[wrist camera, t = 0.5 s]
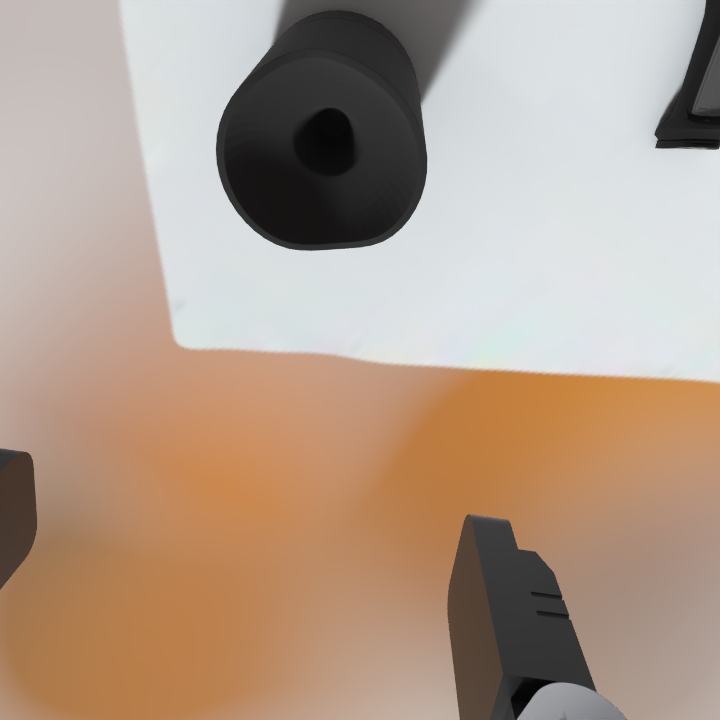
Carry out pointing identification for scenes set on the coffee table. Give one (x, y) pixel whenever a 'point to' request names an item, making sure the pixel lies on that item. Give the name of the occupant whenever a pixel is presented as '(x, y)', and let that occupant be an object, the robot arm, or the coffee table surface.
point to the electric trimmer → (698, 93)
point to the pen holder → (326, 137)
